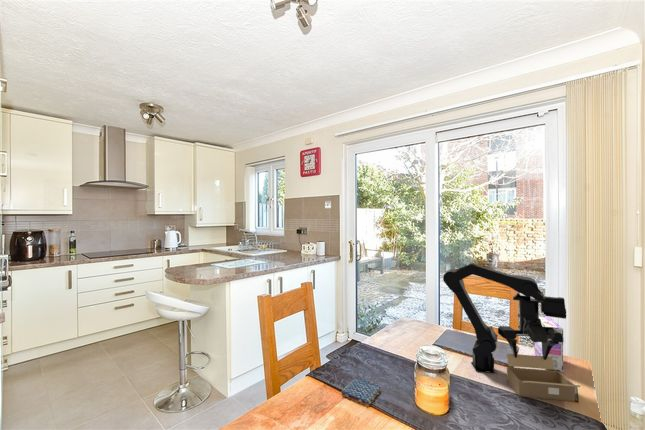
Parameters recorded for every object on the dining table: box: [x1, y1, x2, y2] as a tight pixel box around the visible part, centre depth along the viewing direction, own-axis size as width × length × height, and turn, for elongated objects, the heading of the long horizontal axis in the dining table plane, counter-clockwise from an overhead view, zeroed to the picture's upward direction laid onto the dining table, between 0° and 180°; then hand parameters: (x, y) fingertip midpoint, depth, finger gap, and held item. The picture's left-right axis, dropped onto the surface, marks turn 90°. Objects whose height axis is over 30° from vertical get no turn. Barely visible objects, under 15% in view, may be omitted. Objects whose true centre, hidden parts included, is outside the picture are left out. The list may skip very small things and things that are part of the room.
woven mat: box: [341, 377, 382, 407], centre depth 99 cm, size 10×11×2 cm
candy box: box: [534, 315, 564, 373], centre depth 118 cm, size 14×6×16 cm, turn 159°
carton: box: [506, 366, 576, 403], centre depth 100 cm, size 16×9×5 cm, turn 80°
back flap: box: [506, 353, 555, 371], centre depth 105 cm, size 14×4×1 cm
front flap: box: [522, 381, 581, 388], centre depth 93 cm, size 14×4×1 cm
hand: (530, 358), depth 105 cm, fingers open, 9 cm apart
